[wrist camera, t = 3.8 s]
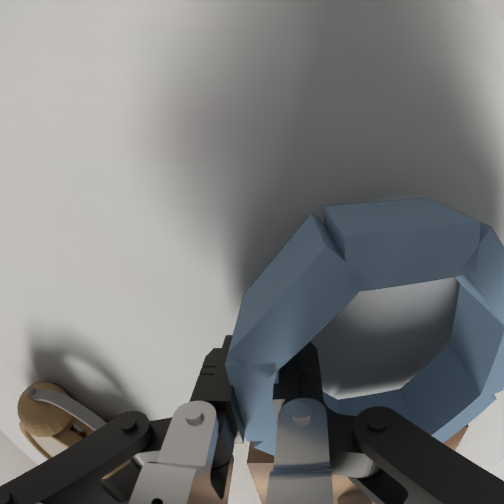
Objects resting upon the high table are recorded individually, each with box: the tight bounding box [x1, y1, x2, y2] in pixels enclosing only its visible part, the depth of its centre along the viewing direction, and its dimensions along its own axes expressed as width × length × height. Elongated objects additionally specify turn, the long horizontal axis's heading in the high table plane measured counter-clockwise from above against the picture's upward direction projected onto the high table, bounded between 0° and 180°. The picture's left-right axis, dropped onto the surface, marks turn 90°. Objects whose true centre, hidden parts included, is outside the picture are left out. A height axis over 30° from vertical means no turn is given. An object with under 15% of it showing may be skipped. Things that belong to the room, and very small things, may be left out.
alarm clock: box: [18, 382, 131, 479], centre depth 16 cm, size 11×5×15 cm
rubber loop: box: [225, 198, 504, 456], centre depth 9 cm, size 10×10×4 cm
